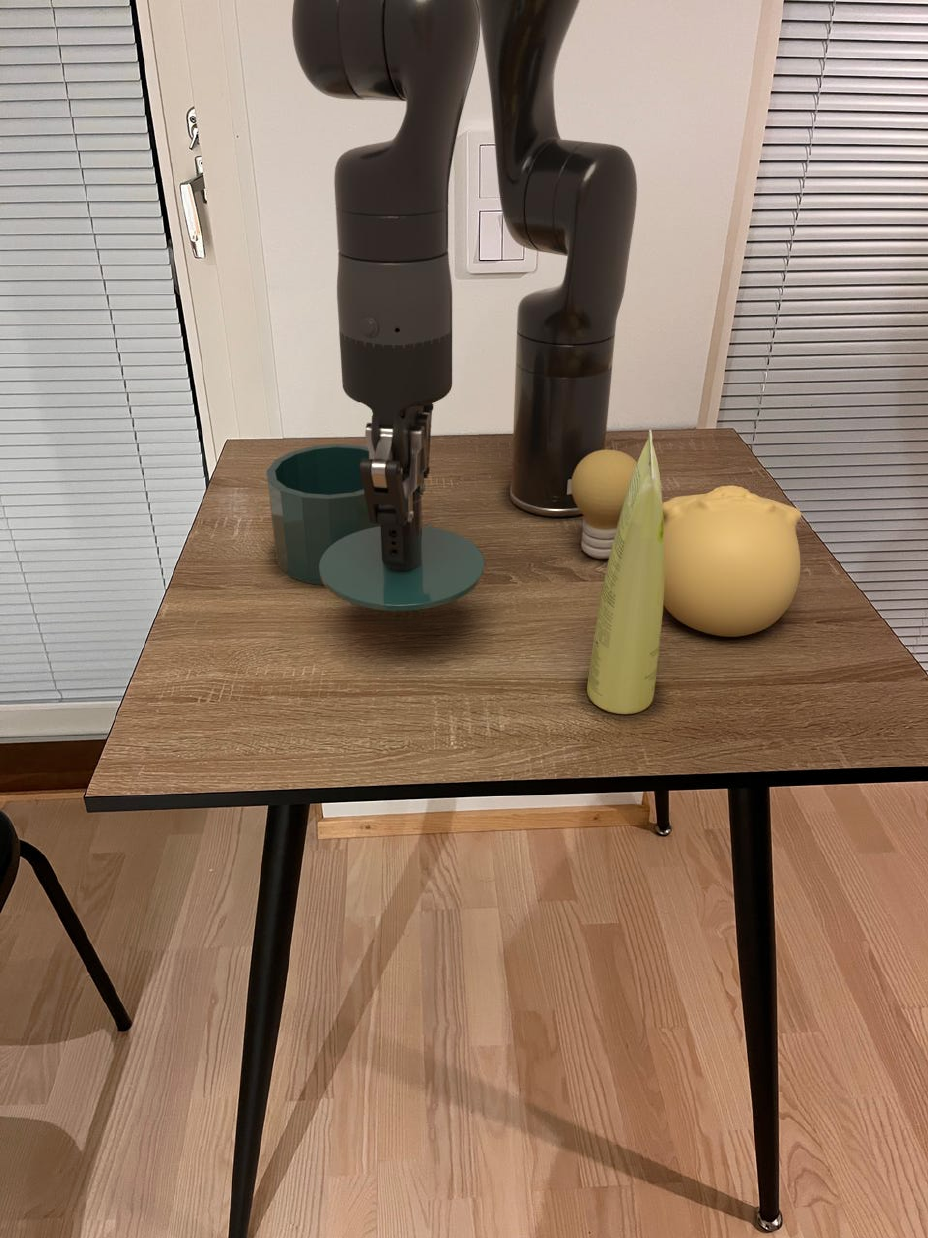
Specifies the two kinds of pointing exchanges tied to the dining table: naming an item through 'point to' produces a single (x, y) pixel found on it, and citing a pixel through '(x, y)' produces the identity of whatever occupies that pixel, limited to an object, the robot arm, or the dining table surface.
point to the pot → (315, 504)
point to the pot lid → (402, 568)
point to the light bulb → (601, 497)
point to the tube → (632, 598)
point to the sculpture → (729, 560)
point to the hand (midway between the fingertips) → (402, 550)
